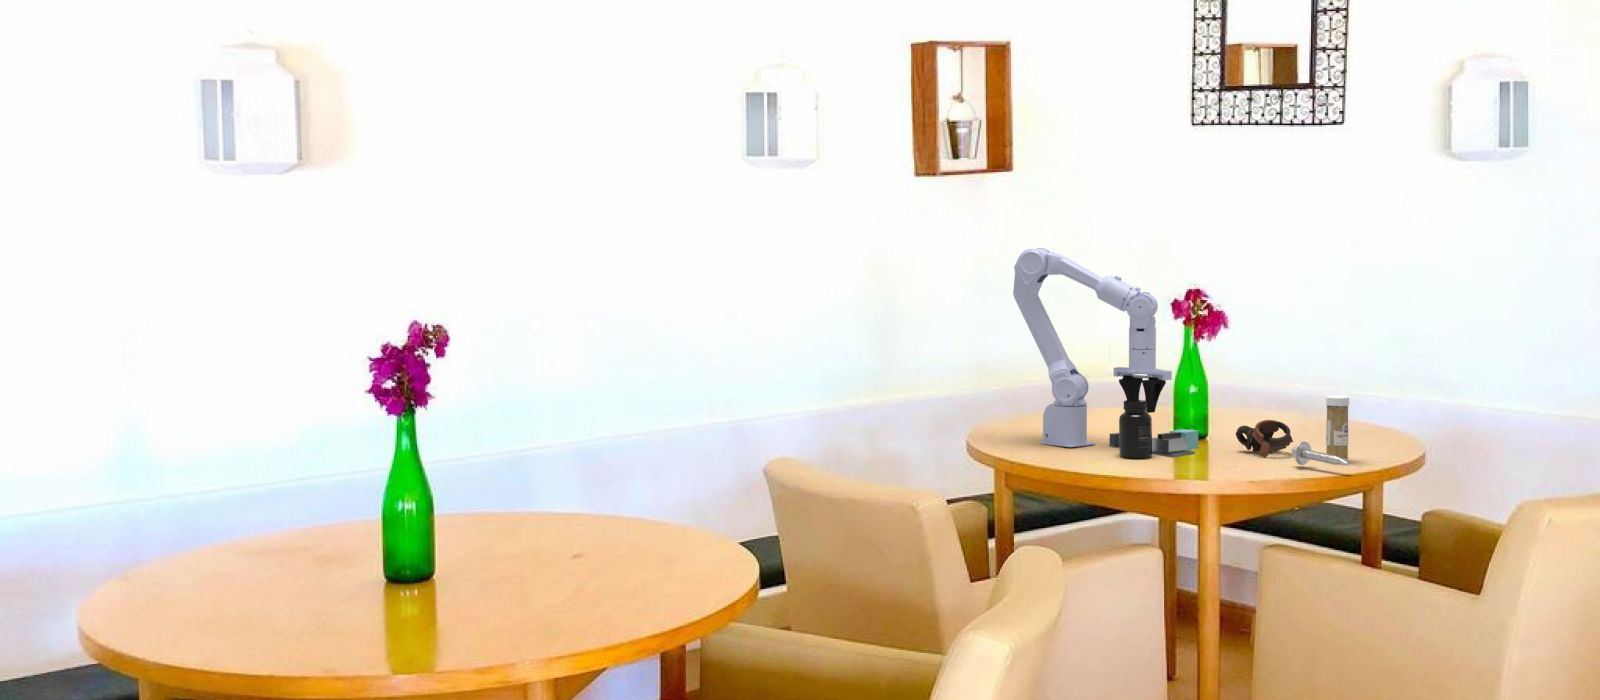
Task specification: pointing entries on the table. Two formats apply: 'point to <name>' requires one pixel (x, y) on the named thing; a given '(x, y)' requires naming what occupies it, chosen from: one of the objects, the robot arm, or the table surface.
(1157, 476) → the table surface
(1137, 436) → the supplement bottle
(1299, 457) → the screw
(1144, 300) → the robot arm
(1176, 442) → the grey stepped block
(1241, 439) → the brown looped part
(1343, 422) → the sprinkles bottle
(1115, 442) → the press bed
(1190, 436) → the teal block
